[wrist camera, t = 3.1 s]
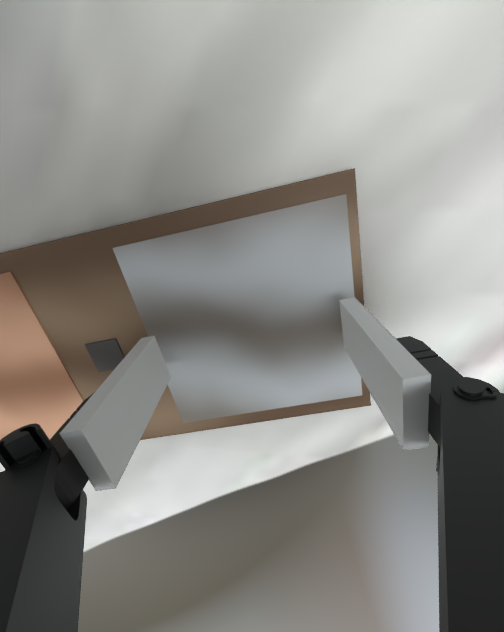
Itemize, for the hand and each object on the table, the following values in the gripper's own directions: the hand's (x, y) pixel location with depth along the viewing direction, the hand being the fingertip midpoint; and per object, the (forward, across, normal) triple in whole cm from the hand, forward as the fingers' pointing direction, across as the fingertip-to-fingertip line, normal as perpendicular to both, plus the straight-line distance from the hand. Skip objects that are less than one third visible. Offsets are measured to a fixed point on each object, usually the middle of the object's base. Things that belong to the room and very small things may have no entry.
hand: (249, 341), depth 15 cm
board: (+2, -10, 0) cm, 10 cm away
